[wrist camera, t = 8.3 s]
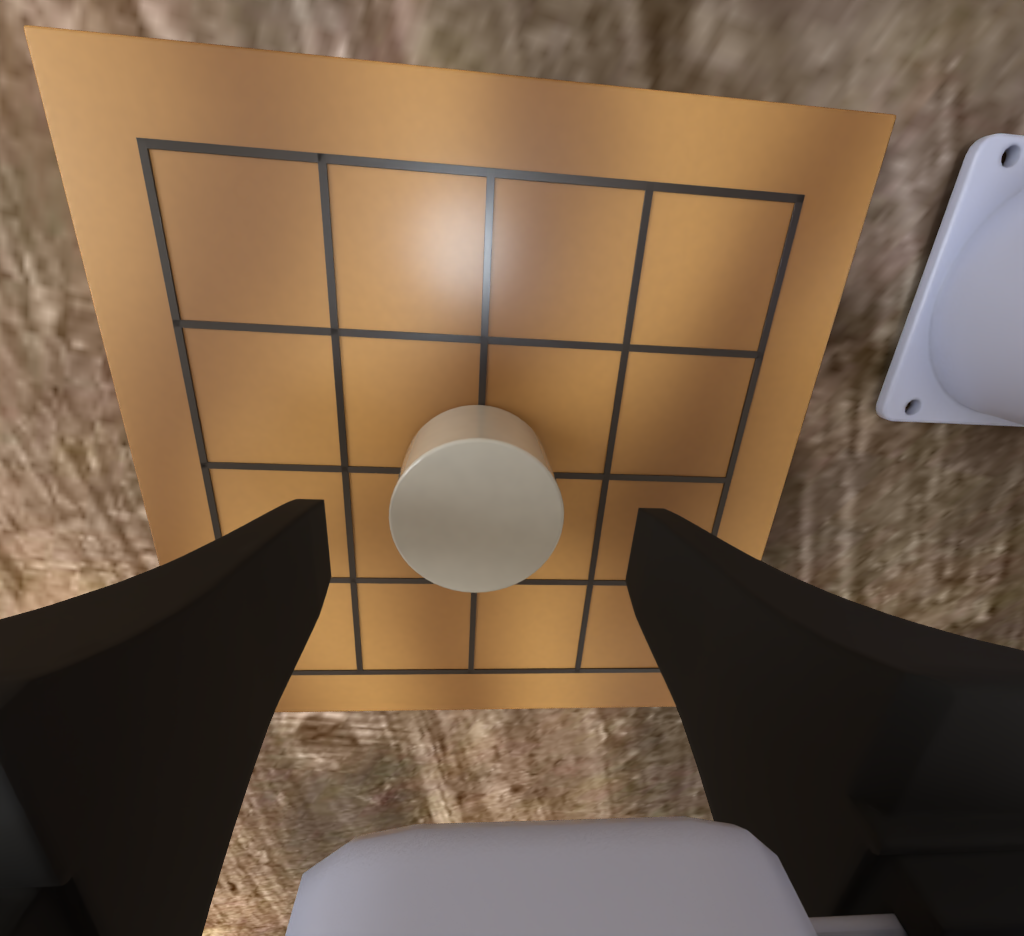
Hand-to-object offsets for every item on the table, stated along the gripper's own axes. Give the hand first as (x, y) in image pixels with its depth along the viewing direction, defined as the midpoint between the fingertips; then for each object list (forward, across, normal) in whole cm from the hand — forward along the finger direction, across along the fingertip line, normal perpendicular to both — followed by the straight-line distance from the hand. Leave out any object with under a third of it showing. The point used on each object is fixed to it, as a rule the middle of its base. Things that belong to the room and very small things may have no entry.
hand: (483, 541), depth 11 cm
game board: (+5, 0, 0) cm, 5 cm away
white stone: (+4, 0, 0) cm, 4 cm away
